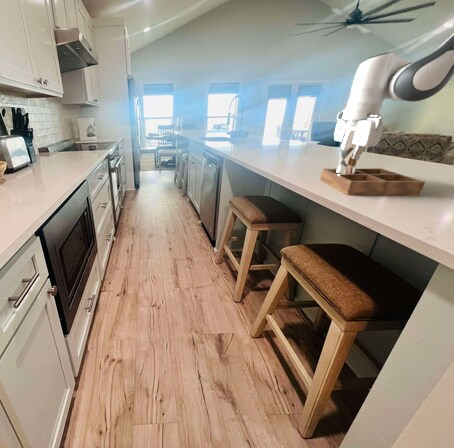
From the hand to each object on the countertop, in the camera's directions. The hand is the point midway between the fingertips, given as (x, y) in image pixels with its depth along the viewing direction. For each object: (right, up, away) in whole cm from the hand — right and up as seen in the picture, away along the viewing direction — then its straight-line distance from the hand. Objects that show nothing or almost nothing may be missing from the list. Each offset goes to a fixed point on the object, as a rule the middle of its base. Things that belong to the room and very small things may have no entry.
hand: (349, 157), depth 84 cm
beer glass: (0, -6, +3) cm, 6 cm away
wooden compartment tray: (+4, -11, -1) cm, 11 cm away
